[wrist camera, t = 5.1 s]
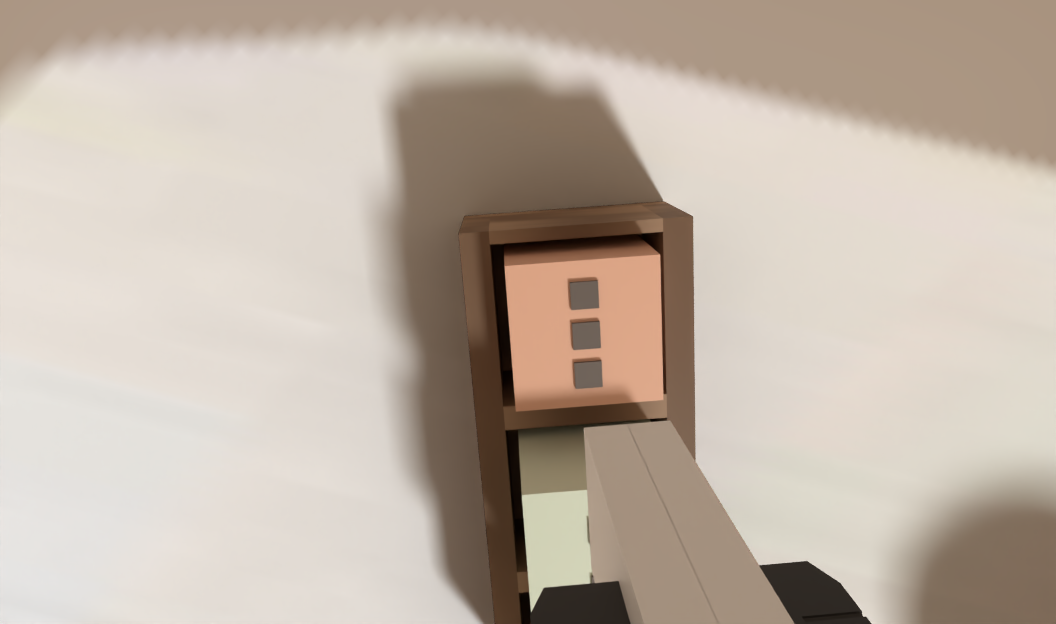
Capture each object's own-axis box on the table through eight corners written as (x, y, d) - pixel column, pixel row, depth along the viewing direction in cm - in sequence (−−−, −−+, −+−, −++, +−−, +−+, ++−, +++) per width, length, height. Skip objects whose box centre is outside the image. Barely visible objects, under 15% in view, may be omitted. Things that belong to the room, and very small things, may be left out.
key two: (526, 544, 26) (532, 633, 21) (517, 427, 24) (521, 496, 20) (652, 533, 26) (683, 621, 21) (648, 417, 25) (681, 484, 20)
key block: (504, 651, 30) (504, 729, 26) (464, 216, 26) (458, 233, 22) (672, 637, 30) (697, 712, 27) (663, 201, 26) (693, 216, 22)
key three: (513, 362, 26) (515, 413, 22) (503, 239, 25) (504, 266, 20) (636, 352, 26) (664, 401, 22) (632, 230, 25) (660, 254, 21)
